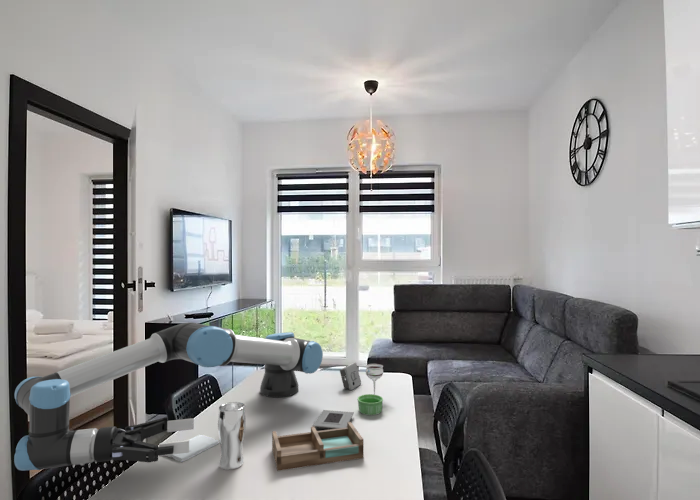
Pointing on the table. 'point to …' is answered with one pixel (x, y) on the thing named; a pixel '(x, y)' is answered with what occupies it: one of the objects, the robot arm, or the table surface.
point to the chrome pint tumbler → (231, 434)
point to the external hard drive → (196, 447)
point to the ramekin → (370, 404)
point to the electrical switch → (350, 376)
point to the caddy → (317, 447)
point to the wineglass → (374, 372)
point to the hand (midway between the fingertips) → (191, 434)
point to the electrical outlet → (333, 419)
